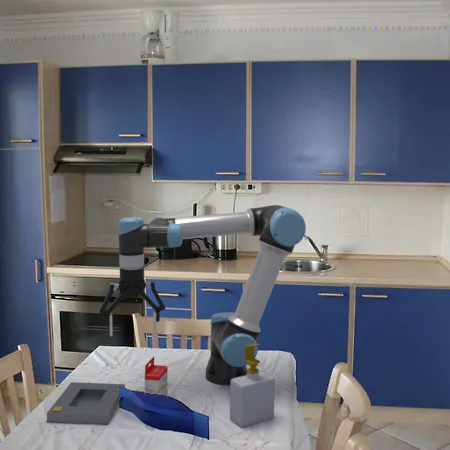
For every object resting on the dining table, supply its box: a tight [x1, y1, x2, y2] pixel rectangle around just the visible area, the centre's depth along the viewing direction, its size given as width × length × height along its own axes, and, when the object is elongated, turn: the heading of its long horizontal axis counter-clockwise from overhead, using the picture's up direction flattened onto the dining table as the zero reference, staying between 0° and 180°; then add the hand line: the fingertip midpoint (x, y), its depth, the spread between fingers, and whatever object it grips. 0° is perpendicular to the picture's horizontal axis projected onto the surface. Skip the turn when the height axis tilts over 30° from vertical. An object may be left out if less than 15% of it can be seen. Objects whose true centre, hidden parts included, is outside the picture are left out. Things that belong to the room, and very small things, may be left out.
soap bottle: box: [229, 343, 276, 428], centre depth 163 cm, size 12×7×23 cm, turn 123°
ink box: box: [144, 356, 168, 397], centre depth 171 cm, size 8×5×15 cm, turn 168°
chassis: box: [46, 382, 126, 425], centre depth 171 cm, size 18×22×3 cm
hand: (133, 333), depth 173 cm, fingers open, 13 cm apart
